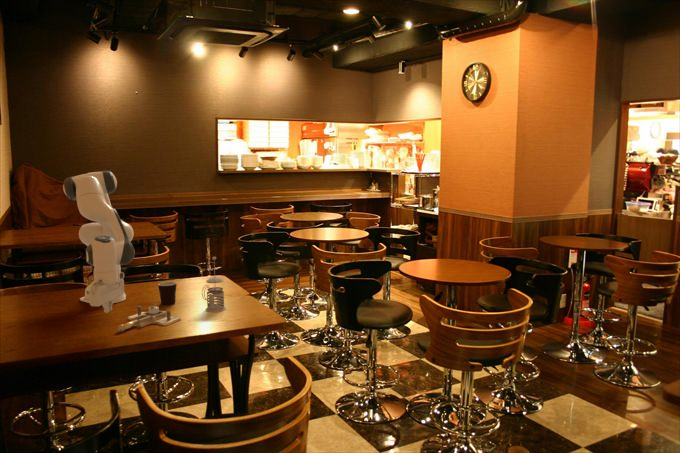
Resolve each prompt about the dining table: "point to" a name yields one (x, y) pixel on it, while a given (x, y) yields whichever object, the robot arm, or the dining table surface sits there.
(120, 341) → the dining table surface
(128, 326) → the pin
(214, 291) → the french press
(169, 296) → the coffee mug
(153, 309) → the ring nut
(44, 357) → the dining table surface
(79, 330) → the dining table surface
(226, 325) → the dining table surface
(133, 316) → the cradle
